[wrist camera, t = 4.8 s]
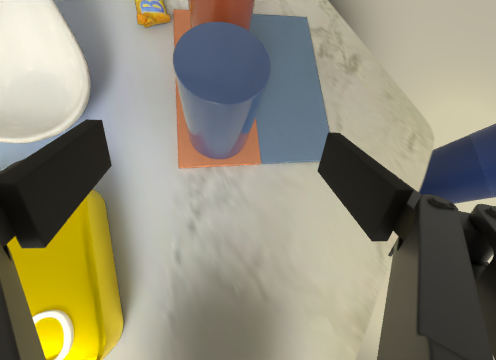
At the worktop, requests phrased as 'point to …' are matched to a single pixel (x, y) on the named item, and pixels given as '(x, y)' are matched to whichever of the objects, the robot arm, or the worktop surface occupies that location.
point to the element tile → (74, 286)
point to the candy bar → (151, 12)
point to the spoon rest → (39, 72)
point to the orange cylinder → (221, 12)
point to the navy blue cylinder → (220, 85)
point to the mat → (272, 99)
